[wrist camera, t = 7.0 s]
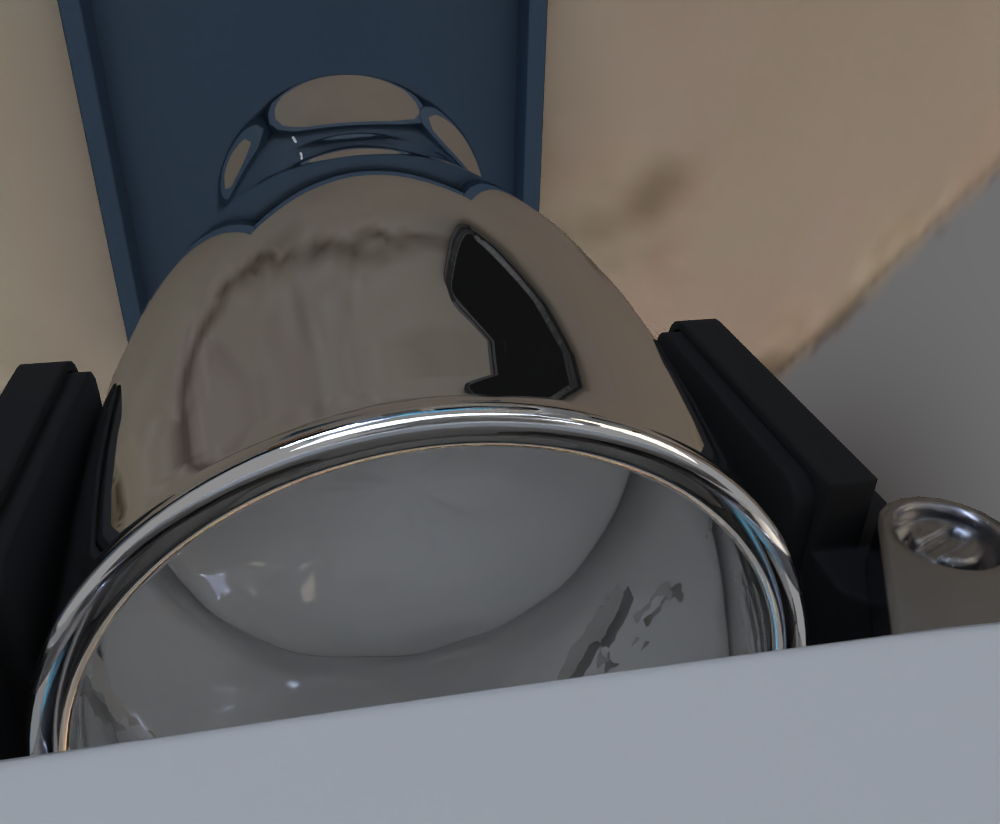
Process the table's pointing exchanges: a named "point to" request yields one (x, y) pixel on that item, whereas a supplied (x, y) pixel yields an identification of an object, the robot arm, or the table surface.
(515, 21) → the tray
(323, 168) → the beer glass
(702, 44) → the table surface
